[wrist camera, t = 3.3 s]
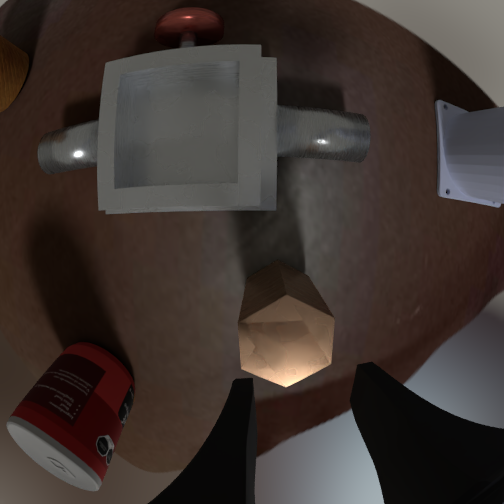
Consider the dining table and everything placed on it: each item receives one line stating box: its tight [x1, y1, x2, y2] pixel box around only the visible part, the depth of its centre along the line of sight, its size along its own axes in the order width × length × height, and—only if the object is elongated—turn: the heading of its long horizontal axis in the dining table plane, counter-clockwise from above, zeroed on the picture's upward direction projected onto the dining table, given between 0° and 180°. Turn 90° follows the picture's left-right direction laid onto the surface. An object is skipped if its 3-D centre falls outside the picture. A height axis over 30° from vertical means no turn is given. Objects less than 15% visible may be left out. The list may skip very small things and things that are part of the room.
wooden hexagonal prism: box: [238, 260, 335, 387], centre depth 14 cm, size 4×5×7 cm
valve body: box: [38, 7, 370, 214], centre depth 13 cm, size 20×11×4 cm, turn 89°
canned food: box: [7, 342, 135, 491], centre depth 15 cm, size 8×8×11 cm
